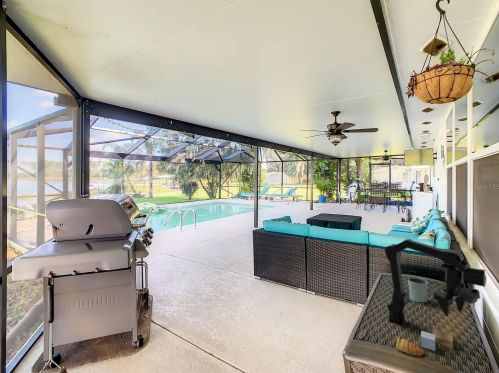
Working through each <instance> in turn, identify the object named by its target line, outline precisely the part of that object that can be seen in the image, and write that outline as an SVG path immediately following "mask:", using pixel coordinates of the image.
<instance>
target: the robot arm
mask: <svg viewBox="0 0 499 373" xmlns="http://www.w3.org/2000/svg"><path fill="white" fill-rule="evenodd" d="M406 249H409V250H413V251H415V252H420V253H422V254H425V255H429V256H432V257H435V258H436V259H438V260H440V261H441V262H443V263H442V264H441V265H440V266H439V267H440V268H443V269H445V279H443V280H442V282H443V283H445V287H444V288H443V289H442V291H440V290H439V291H436V292H434V293H432V299H434V300H435V301H437V303H438V305H439V306H440V308H441V310H442V312H443V314H444V315H445V316H447V317H448V316H450V315H449V314H450V308H451V306H452V305H454V303H453V302H454V301H455V305H456V308H457V311H458V312H460V313H462V312H463V310H464V307H465V306H466V303H468V304H470V305H471V304H475V303H477V301H478V300H479V299H481V295H480V294H481V293H480V290H478V289H477V288H473V289H471V288H468V287H466V284H465V282H466V283H467V284H472V285H475V286H479V287H484V288H486V285H487V276H486V275H487V274H486V269H481V268H475V267H470V265H469V263H468V262H467V260H465V259H464V258H465V257H464V255H463V253H462V252H461V251H459V250H456V249H450V248H440V247H436V246H433V245H429V244H425V243H423V242H419V241H415V240H413V239H412V238H411V239H410V238H407V239H404V240H403V241H401V242H399V243H397V244H396V243H392V244H391V245H388V246H386V247H385V248H384V253H385V257H386V260H388V262H389V267H390V275H391V281H392V286H393V291H392V296H391V302H389V304H387V305H386V308H387V310H388V322H391V323H393V324H397V325H400V326H403V325H404V324H405V322H406V312H404V309H405V308H406V307H407V306H408V305H409V304H410V303H411V299H410V292H409V293H408V292H406V291H405V290H404V289H405V288H404V282H403V274H402V268H401V258H402V251H404V250H406ZM463 280H464V282H463Z"/></svg>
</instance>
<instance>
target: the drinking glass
mask: <svg viewBox="0 0 499 373" xmlns="http://www.w3.org/2000/svg"><path fill="white" fill-rule="evenodd" d="M407 284H408V291H409V299H410V301H412V300H413V301H412V302H415V301H416V302H415V303H418V302H423V303H422V304H425V303H424V302H426V303H427V302H428V285H429V281H427V280H426V279H424V278H420V277H408V278H407Z"/></svg>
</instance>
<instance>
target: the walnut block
mask: <svg viewBox="0 0 499 373" xmlns="http://www.w3.org/2000/svg"><path fill="white" fill-rule="evenodd" d="M432 334H434V335H435V343H437V344H440V345H443V346H446V347H445V348H447V349H450V348H451V349H450V350H454V339H453V334H452V333H450V332H447V331H443V330H440V329H436V328H432ZM437 344H436V345H437ZM440 345H439V346H440ZM443 346H442V347H443Z"/></svg>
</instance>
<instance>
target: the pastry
mask: <svg viewBox="0 0 499 373" xmlns="http://www.w3.org/2000/svg"><path fill="white" fill-rule="evenodd" d="M396 340H397V341H396V346H395V348H396V349H397V350H398V351H399V350H400V351H399V352H401V351H402V352H401V353H404V352H406V353H409V354H413V355H412V356H414V355H419V356H418V357H421V356H423V349H421V347H420V346H417V344H414V342H411V341H409V340H408V339H405V338H402V339H401V338H399V337H397V339H396ZM406 353H405V354H406ZM409 354H408V355H409Z"/></svg>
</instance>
